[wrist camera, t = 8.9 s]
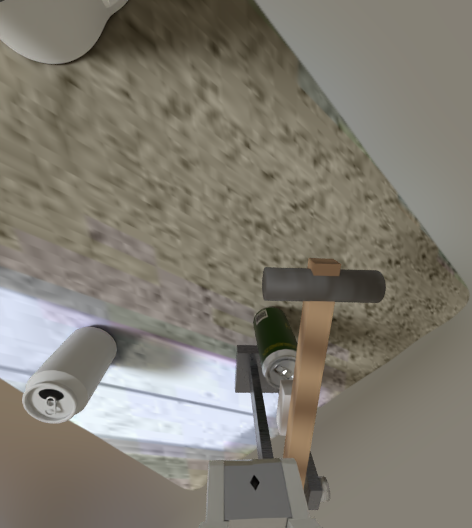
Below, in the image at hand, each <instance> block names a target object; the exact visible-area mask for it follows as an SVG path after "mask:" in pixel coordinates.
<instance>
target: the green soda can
mask: <svg viewBox="0 0 472 528" xmlns="http://www.w3.org/2000/svg"><path fill="white" fill-rule="evenodd" d="M253 324H254V330H255V336H256V341H257V346H258V351H259V356H260V362H261V367H262V372H263V375H264V377H265V378H266V380H267V382H268V384H269V385H271V386H272V387H274V388H276V389H280V380H293V376H294V369H295V361H296V353H297V345H298V343H297V341H296V339H295V336H294V334H293V332H292V329H291V327H290V325H289V322H288V320H287V318H286V316H285V313H284V312H282V311H281V310H280V309H278V308H275V307H265V308H263V309H261V310H260V311H259V312H258V313H257V314H256V316H255V317H254V321H253Z"/></svg>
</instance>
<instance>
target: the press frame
mask: <svg viewBox="0 0 472 528" xmlns="http://www.w3.org/2000/svg"><path fill="white" fill-rule="evenodd" d="M235 393H251V400H252V409H253V417H254V426H255V434H256V442H257V451H258V459H272V458H273V453H272V447H271V441H270V435H269V430H268V424H267V418H266V412H265V406H264V400H263V395H262V393H278V394H279V389H276V388H274V387H272V386H271V385H269V384H268V382H267V380H266V378H265V377H264V375H263V372H262V367H261V362H260V356H259V351H258V346H241V345H237V355H236V373H235ZM303 490H304V494H305V498H306V502H307V506H308V510H318V508H319V504H320V501H329V500H330V490H329V485H328V482H327V479H326V477H324V476H320V477H319V476H318V474H317V471H316V468H315V464H314V461H313V458H312V455H311V452H310V454H309V459H308V465H307V471H306V477H305V483H304V489H303Z"/></svg>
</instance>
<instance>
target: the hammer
mask: <svg viewBox="0 0 472 528" xmlns="http://www.w3.org/2000/svg"><path fill="white" fill-rule="evenodd" d="M340 268H341V264H340V263H338V262H337V261H336V260H334V259H320V258H309V260H308V268H307V269H306V268H271V267H265V268H264V271H263V279H262V291H263V298H264V300H268V301H303V307H302V314H301V322H300V330H299V338H298V345H297V353H296V361H295V369H294V376H293V380H280V389H279V398H278V407H277V416H276V420H277V424H278V429H279V433H280V435H286V439H285V447H284V454H283V458H294V459H295V461H296V462H297V466H298V470H299V474H300V478H301V482H302V486H303V489H304V483H305V477H306V471H307V465H308V459H309V454H310V448H311V441H312V435H313V429H314V424H315V418H316V412H317V406H318V400H319V394H320V388H321V382H322V376H323V370H324V364H325V358H326V352H327V346H328V340H329V334H330V328H331V322H332V316H333V310H334V304H335V302H360V303H378V302H380V301H381V300H382V299H383V297H384V295H385V290H386V285H385V280H384V277H383V275H382V274H381V273H380V272H379V271H376V270H341V269H340Z"/></svg>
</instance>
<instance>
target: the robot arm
mask: <svg viewBox="0 0 472 528" xmlns="http://www.w3.org/2000/svg"><path fill="white" fill-rule="evenodd" d="M127 1H128V0H0V39H1V40H2V41H3V42H4V43H5V44H6V45H7V46H9V47H10V48H11V49H13V50H14V51H16V52H17V53H19V54H21V55H23V56H25V57H27V58H29V59H31V60H34V61H38V62H42V63H48V64H60V63H66V62H70V61H73V60H75V59H77V58H79V57H81V56H82V55H84V54H85V53H86V52H87V51H89V50H90V49H91V48H92V46H93V45H94V44H95V43H96V41H97V40H98V38H99V36H100V35H101V33H102V31H103V28H104V26H105V24H106V22H107V20H108V19H109V17H110V16H111V15H112V14H114V13H115V12H116V11H118V10H119V9H120V8H121V7H123V6H124V5H125V4H126V2H127ZM198 528H323V527H322V526H321V525H320V524H319V522H318V521H317V520H316V518H311V517H310V514H309V510H308V506H307V502H306V498H305V494H304V490H303V486H302V482H301V478H300V474H299V470H298V466H297V462H296V461H295V459H294V458H272V459H253V460H225V461H224V460H216V461H209V466H208V483H207V504H206V522H201V523H200V525H199V527H198Z"/></svg>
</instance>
